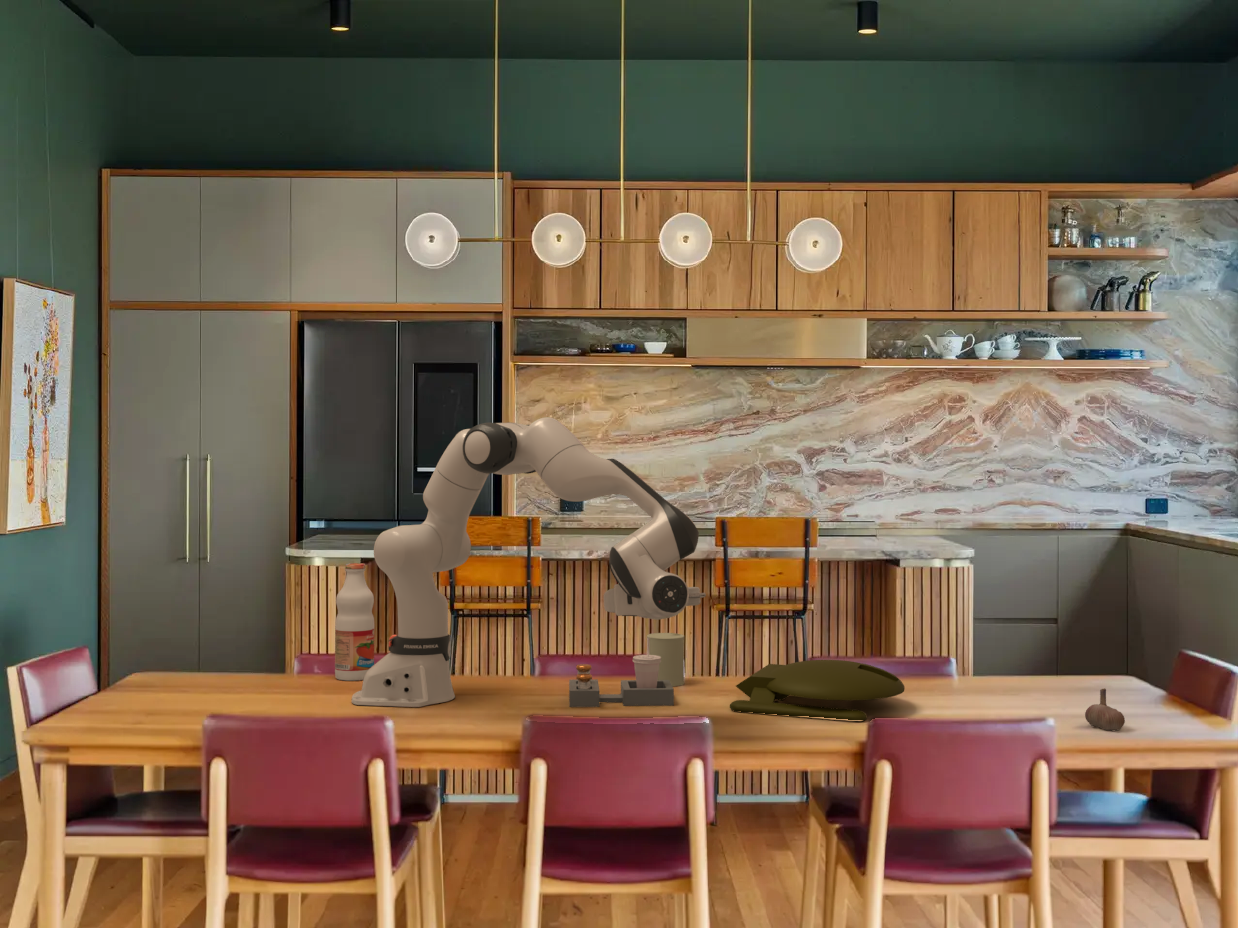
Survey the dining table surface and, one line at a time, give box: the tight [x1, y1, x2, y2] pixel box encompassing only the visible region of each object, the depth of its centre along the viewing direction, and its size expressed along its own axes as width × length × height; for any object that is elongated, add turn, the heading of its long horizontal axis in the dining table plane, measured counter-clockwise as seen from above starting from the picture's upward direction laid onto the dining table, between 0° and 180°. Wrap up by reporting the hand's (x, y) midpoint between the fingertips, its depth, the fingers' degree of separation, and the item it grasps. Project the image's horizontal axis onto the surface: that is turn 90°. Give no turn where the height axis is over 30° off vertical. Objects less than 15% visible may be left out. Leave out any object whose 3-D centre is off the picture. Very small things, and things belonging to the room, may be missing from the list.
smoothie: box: [632, 637, 661, 688], centre depth 245 cm, size 6×6×14 cm
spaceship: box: [729, 659, 905, 721], centre depth 242 cm, size 35×31×10 cm
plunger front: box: [576, 673, 593, 689], centre depth 241 cm, size 3×3×6 cm
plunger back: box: [575, 663, 592, 674], centre depth 247 cm, size 3×3×6 cm
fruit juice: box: [334, 562, 375, 682], centre depth 271 cm, size 9×9×28 cm
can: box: [646, 632, 685, 688], centre depth 265 cm, size 9×9×12 cm
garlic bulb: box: [1084, 688, 1126, 731], centre depth 220 cm, size 8×7×8 cm
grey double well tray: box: [568, 678, 675, 708], centre depth 245 cm, size 23×13×4 cm, turn 93°
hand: (647, 600), depth 236 cm, fingers closed
